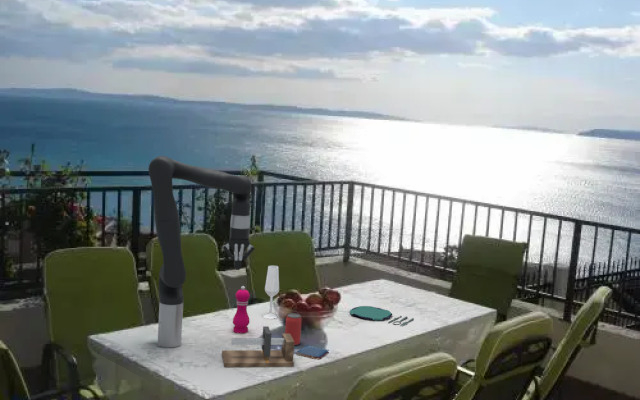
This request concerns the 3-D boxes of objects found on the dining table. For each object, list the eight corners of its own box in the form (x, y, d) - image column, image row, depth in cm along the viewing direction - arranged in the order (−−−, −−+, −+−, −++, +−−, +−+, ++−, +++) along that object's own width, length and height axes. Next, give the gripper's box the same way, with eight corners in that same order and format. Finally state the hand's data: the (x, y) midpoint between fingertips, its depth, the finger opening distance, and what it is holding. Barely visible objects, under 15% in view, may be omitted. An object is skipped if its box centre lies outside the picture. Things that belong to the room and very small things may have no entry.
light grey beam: (232, 345, 258) (232, 339, 258) (231, 343, 260) (232, 337, 260) (284, 345, 262) (284, 339, 262) (283, 343, 264) (283, 337, 264)
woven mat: (305, 348, 281) (306, 344, 280) (329, 354, 276) (329, 349, 276) (294, 356, 271) (295, 351, 271) (319, 361, 267) (319, 356, 267)
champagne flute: (276, 319, 318) (280, 268, 315) (262, 318, 318) (265, 267, 315) (277, 315, 324) (281, 265, 322) (263, 314, 324) (266, 264, 322)
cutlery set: (362, 307, 349) (362, 303, 349) (416, 320, 334) (416, 316, 334) (343, 316, 332) (343, 311, 332) (399, 330, 317) (399, 325, 317)
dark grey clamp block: (264, 356, 258) (266, 333, 257) (261, 348, 266) (263, 326, 265) (270, 356, 258) (271, 333, 257) (266, 348, 267) (268, 326, 266)
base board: (224, 367, 252) (225, 343, 251) (221, 354, 266) (223, 331, 265) (293, 366, 258) (295, 343, 257) (287, 353, 271) (289, 331, 270)
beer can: (288, 346, 280) (290, 318, 279) (281, 341, 286) (283, 313, 285) (302, 345, 284) (304, 316, 282) (295, 340, 289) (297, 312, 288)
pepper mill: (246, 334, 292) (248, 288, 290) (229, 332, 293) (232, 287, 291) (251, 329, 299) (253, 285, 297) (235, 327, 300) (237, 283, 298)
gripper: (255, 225, 274) (253, 267, 276) (222, 224, 271) (220, 267, 273) (257, 228, 267) (255, 271, 269) (223, 227, 264) (221, 271, 266)
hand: (237, 269), depth 271 cm, fingers closed
